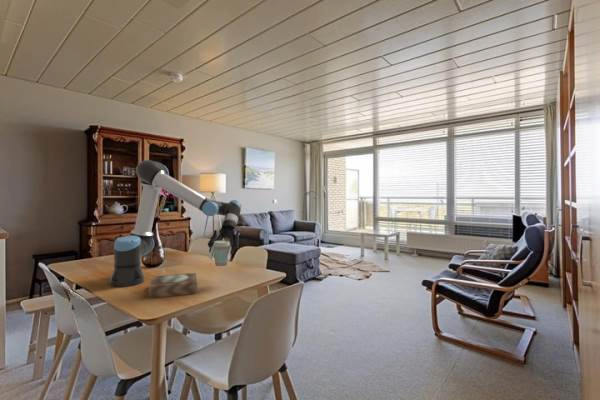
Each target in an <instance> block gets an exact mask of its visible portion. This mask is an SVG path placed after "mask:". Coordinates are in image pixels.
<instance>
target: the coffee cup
mask: <svg viewBox="0 0 600 400" xmlns="http://www.w3.org/2000/svg"><path fill="white" fill-rule="evenodd" d="M213 246H214V254H213V257H214V264H215V265H214V266H215V267H226V266H228V259H227V256H228V252H229V248H230V247H231V242H230V240H221V241H215V242H214V244H213Z"/></svg>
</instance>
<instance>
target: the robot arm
mask: <svg viewBox="0 0 600 400" xmlns="http://www.w3.org/2000/svg"><path fill="white" fill-rule="evenodd" d="M135 170H136V171H135V172H136V175H137V177H138V178H139V180H140V181H141V182H140V185H141V186H142V191H141V196H140V199H139V200H140V201H139V205H138V206H139V207H138V209H137V210H138V211H137V216H136V221H135V223H134V229H132V230H131V231H130V234H129V235H125V236H120V237H118V238H116V239H115V240H114V243H113V244H114V245H113V253H114V254H113V255H114V257H113V259H114V264H113V265H114V269H113V272H112V274H111V277H110V281H109V285H110V286H112V287H121V288H123V287H128V286H129V287H130V286H135V285H140V284H141V283H143V282H145V276H144V272H143V271H142V268H141V258H142V257H144V256H145V257H146V256H147V255H149V254H150V253H151V252H152V251H153V250H154V247H155V240H154V232H153V231H152V229H153V224H154V221H155V220H154V219H155V216H156V210H157V207H158V203H159V201H158V200H159V197H160V192H161V190H164V191H165V192H168V193H169V194H171V195H172V196H174V197H176V198H178V199H179V200H182V201H184V202H185V203H187V204H189V205H190V206H192V207H194V208H196V209H197V210H199V211H200V212H202V213H203V214H204V215H205V216H208V217H213V216H216V215H218V216H224V217H223V220H222V224H221V228H220V229H219V230H217V229H214V230H213V234H212V236H211V238H210V239H209V241H207V242H208V243H207V246H208V248H209V250H208V252H209V255H208V258H209V259H210V261H212V260H213V257H214V246H213V244H214V242H215V241H223V239H229V242H230V247H229V252H228V256H227V259H228V261H230V260H231V257H232V255H233V254H234V252H235V250H236V249H240V248H239V247H240V246H239V244H240V243H239V242H240V241H239V239H240V234H241V233H240V231H239V230H236V228H237V224H238V221H239V218H240V213H241V210H242V203H241V202H240V201H239V200H237V199H232V200H230V201H229V202H224V201H220V200H219V201H218V200H215V199H210V198H208V197H206V196H205V195H203V194H201V193H200V192H198V191H196V190H194V189H193V188H191V187H189V186H188V185H186V184H184V183H182V182H181V181H179V180H177V179H176V178H174V177H172V176H171V175H170V172H169V169H168V168H167V166H166V165H164V164H163V163H161V162H159V161H153V160H150V159H147V160H142V161H140V162H139V163H138V164H137V166H136V169H135ZM233 236H235V241H234V240H233ZM234 242H235V244H234Z"/></svg>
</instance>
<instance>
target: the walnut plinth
mask: <svg viewBox="0 0 600 400" xmlns="http://www.w3.org/2000/svg"><path fill="white" fill-rule="evenodd" d="M197 293H198V281H197V272H190V273H180V274H179V273H177V274H164V275H154V276H152V278H151V281H150V284H149V286H148V298H149V299H152V298H153V299H154V298H162V297H173V296H182V295H191V294H197Z"/></svg>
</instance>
